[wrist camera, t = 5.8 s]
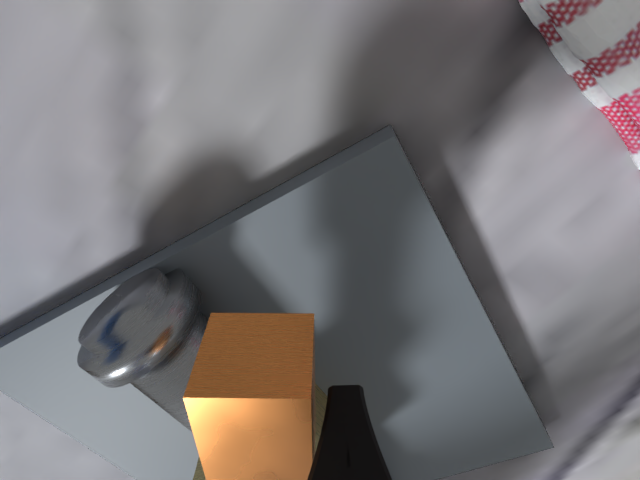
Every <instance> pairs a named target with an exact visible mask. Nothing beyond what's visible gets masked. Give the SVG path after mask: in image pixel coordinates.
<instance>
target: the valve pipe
mask: <svg viewBox="0 0 640 480" xmlns="http://www.w3.org/2000/svg"><path fill="white" fill-rule="evenodd" d="M202 301H203V295H202V292H201V291H200V289H199V288H198V287H197V286H196V285H195V284H194V283H193V282H192V281H191V280H190V279H189V278H188V277H187V276H186V275H185V274H184V273H183V271H182V270H180V269H179V268H176V269H174V270H172V271H171V272H169V273H167V274H165V275H164V274H163V273H162V272H161V271H160V270H159V269H157V268H152V269H148V270H145V271H143V272H141V273H139V274H137V275H135V276H134V277H132V278H130V279H129V280H128V281H126V282H125V283H123V284H122V285H121V286H119V287H118V288H117V289H116V290H115V291H113V292H112V293H111V294H110V295H109V296H108V297H107V298H106V299H105V300H104V301H103V302H102V303H101V304H100V305H99V306H98V307H97V308H96V309H95V310H94V312H93V313H92V314H91V315H90V316H89V318H88V319H87V321H86V322H85V324H84V325H83V327H82V329H81V331H80V333H79V337H78V341H79V343H80V344H81V347H80V350H79V352H78V356H77V363H78V365H79V367H80V368H82V369H83V370H84V371H86V372H87V373H88V374H90V375H91V376H92V377H93V378H95V379H96V380H97V381H99V382H100V383H101V384H103V385H104V386H106V387H108V388H117V387H121V386H124V385H127V384H129V383H130V384H132V385H133V386H134V387H135V388H137V389H138V390H139V391H140V392H142V393H143V394H144V395H145V396H147V397H148V398H149V399H151V400H152V401H153V402H154V403H156V404H157V405H158V406H159V407H161V408H162V409H163V410H164V411H166V412H167V413H168V414H169V415H171V416H172V417H173V418H174V419H176V420H177V421H178V422H179V423H181V424H182V425H183V426H185V427H186V428H187V429H188V430H190V431H191V432H192V428H191V425H190V421H189V418H188V414H187V411H186V407H185V403H184V400H183V396H184V393H185V390H186V387H187V384H188V381H189V378H190V375H191V372H192V369H193V366H194V363H195V360H196V356H197V353H198V350H199V347H200V344H201V341H202V338H203V335H204V332H205V329H206V326H207V323H208V320H209V319H208V318H207V317H206V316H205V315H204V314H203V313H202V312H201V311H200V310H201V306H202ZM315 403H316V429H315V452H316V449H317V445H318V442H319V438H320V434H321V429H322V425H323V421H324V416H325V410H326V404H327V396H326V394H325V393H324V392H323V391H322V390H321V389H320V388H319V387H318V386H317V384H316V383H315ZM192 433H193V432H192ZM193 480H206V478H205V475H204V471H203V467H202V464H201V460H200V457H199V458H198V462H197V466H196V470H195V474H194V477H193Z"/></svg>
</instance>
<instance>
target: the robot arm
mask: <svg viewBox="0 0 640 480" xmlns="http://www.w3.org/2000/svg"><path fill="white" fill-rule="evenodd" d="M307 480H392V478H391V476H390V473H389V470H388V468H387V465H386V463H385V460H384V458H383V455H382V453H381V450H380V447H379V445H378V442H377V439H376V436H375V433H374V430H373V427H372V424H371V420H370V417H369V413H368V409H367V406H366V401H365V396H364V390H363V387H361V386H360V385H332V386H331V387H329V388H328V395H327V404H326V410H325V416H324V421H323V425H322V429H321V434H320V438H319V442H318V445H317V449H316V452H315V456H314V459H313V463H312V466H311V470H310V473H309V476H308V479H307Z"/></svg>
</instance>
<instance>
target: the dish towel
mask: <svg viewBox="0 0 640 480" xmlns="http://www.w3.org/2000/svg"><path fill="white" fill-rule="evenodd" d="M518 1H519V3H520V5H521V8H522V9H523V10H524V11H525V13H526V14H527V16H528V17H529V19H530V20H531V22H532V24H533V25H534V26H535V27H536V28H537V29H539V31H540V32H541V34H542V35H543V37H544V38H545V40H546V43H547V45H548V47H549V49H550V50H551V52H552V54H553V55H554V57H555V58H556V59H557V60H558V62H559V63H560V64H561V65H562V67H563V68H564V70H565V71H566V72H567V74H569V75H570V76H571V77H572V78H573V79H574V80H575V81H576V83H577V84H578V86H579V88H580V90H581V93H582V94H583V95H584V96H585V97H586V98H587V99H588V100H589V101H590V102H591V103H592V104H593V105H594V106H595V107H597V108H598V109H599V110H600V111H601V112H602V113H603V114H604V115H605V117H606V118H607V119H608V121H609V122H610V123H611V124H612V126H613V127H614V129H615V130H616V131H617V133H618V134H619V136H620V137H621V138H622V140H623V141H624V142H625V144H626V145H627V147H628V151H629V154H630V156H631V159H632V161H633V162H634V164H635V165H636V167H637V169H638V170H639V171H640V0H518Z"/></svg>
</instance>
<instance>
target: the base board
mask: <svg viewBox="0 0 640 480" xmlns="http://www.w3.org/2000/svg"><path fill="white" fill-rule="evenodd" d="M152 268H157V269H159V270H160V271H161V272H162V273H163V274H164V275H165V274H167V273H169V272H171V271H172V270H174V269H176V268H179V269H180V270H182V271H183V273H184V274H185V275H186V276H187V277H188V278H189V279H190V280H191V281H192V282H193V283H194V284H195V285H196V286H197V287H198V288H199V289H200V291H201V292H202V295H203V301H202V306H201V310H200V311H201V312H202V313H203V314H204V315H205V316H206V317H207V318H208V319H209V317H210V314H211V313H314V332H315V383H316V384H317V386H318V387H319V388H320V389H321V390H322V391H323V392H324V393H325V394H326V396H327V395H328V388H329V387H331V386H332V385H360V386H361V387H363V390H364V396H365V401H366V406H367V409H368V413H369V417H370V420H371V424H372V427H373V430H374V433H375V436H376V439H377V442H378V445H379V447H380V450H381V453H382V455H383V458H384V460H385V463H386V465H387V468H388V470H389V473H390V476H391V478H392V480H437V479H441V478H445V477H448V476H452V475H456V474H459V473H463V472H467V471H470V470H474V469H477V468H481V467H485V466H488V465H492V464H496V463H499V462H503V461H507V460H510V459H514V458H518V457H521V456H525V455H528V454H532V453H536V452H539V451H543V450H547V449H550V448H554V446H553V444H552V442H551V440H550V438H549V435H548V433H547V431H546V429H545V427H544V425H543V423H542V421H541V419H540V417H539V415H538V413H537V411H536V409H535V407H534V405H533V403H532V401H531V400H530V398H529V396H528V394H527V392H526V390H525V388H524V386H523V384H522V382H521V380H520V378H519V376H518V374H517V372H516V370H515V368H514V366H513V364H512V362H511V360H510V358H509V356H508V354H507V352H506V350H505V348H504V346H503V344H502V342H501V341H500V339H499V337H498V335H497V333H496V331H495V329H494V327H493V325H492V323H491V321H490V319H489V317H488V315H487V313H486V311H485V309H484V307H483V305H482V303H481V301H480V299H479V297H478V295H477V293H476V291H475V289H474V287H473V285H472V283H471V282H470V280H469V278H468V276H467V274H466V272H465V270H464V268H463V266H462V264H461V262H460V260H459V258H458V256H457V254H456V252H455V250H454V248H453V246H452V244H451V242H450V240H449V238H448V236H447V234H446V232H445V230H444V228H443V226H442V224H441V223H440V221H439V219H438V217H437V215H436V213H435V211H434V209H433V207H432V205H431V203H430V201H429V199H428V197H427V195H426V193H425V191H424V189H423V187H422V185H421V183H420V181H419V179H418V177H417V175H416V173H415V171H414V169H413V167H412V165H411V163H410V162H409V160H408V158H407V156H406V154H405V152H404V150H403V148H402V146H401V144H400V142H399V140H398V138H397V136H396V134H395V132H394V130H393V128H392V126H391V125H389V126H387V127H385V128H383V129H382V130H380V131H378V132H376V133H374V134H372V135H371V136H369V137H367V138H365V139H363V140H361V141H360V142H358V143H356V144H354V145H352V146H351V147H349V148H347V149H345V150H343V151H341V152H340V153H338V154H336V155H334V156H332V157H330V158H329V159H327V160H325V161H323V162H321V163H320V164H318V165H316V166H314V167H312V168H310V169H309V170H307V171H305V172H303V173H301V174H299V175H298V176H296V177H294V178H292V179H290V180H288V181H287V182H285V183H283V184H281V185H279V186H278V187H276V188H274V189H272V190H270V191H268V192H267V193H265V194H263V195H261V196H259V197H257V198H256V199H254V200H252V201H250V202H248V203H247V204H245V205H243V206H241V207H239V208H237V209H236V210H234V211H232V212H230V213H228V214H226V215H225V216H223V217H221V218H219V219H217V220H215V221H214V222H212V223H210V224H208V225H206V226H205V227H203V228H201V229H199V230H197V231H195V232H194V233H192V234H190V235H188V236H186V237H184V238H183V239H181V240H179V241H177V242H175V243H174V244H172V245H170V246H168V247H166V248H164V249H163V250H161V251H159V252H157V253H155V254H153V255H152V256H150V257H148V258H146V259H144V260H143V261H141V262H139V263H137V264H135V265H133V266H132V267H130V268H128V269H126V270H124V271H122V272H121V273H119V274H117V275H115V276H113V277H111V278H110V279H108V280H106V281H104V282H102V283H101V284H99V285H97V286H95V287H93V288H91V289H90V290H88V291H86V292H84V293H82V294H80V295H79V296H77V297H75V298H73V299H71V300H70V301H68V302H66V303H64V304H62V305H60V306H59V307H57V308H55V309H53V310H51V311H49V312H48V313H46V314H44V315H42V316H40V317H38V318H37V319H35V320H33V321H31V322H29V323H28V324H26V325H24V326H22V327H20V328H18V329H17V330H15V331H13V332H11V333H9V334H7V335H6V336H4V337H2V338H0V391H1V392H2V393H4V394H5V395H7V396H8V397H10V398H12V399H13V400H15V401H16V402H18V403H19V404H21V405H22V406H24V407H25V408H27V409H28V410H30V411H31V412H33V413H35V414H36V415H38V416H39V417H41V418H42V419H44V420H45V421H47V422H48V423H50V424H51V425H53V426H54V427H56V428H57V429H59V430H61V431H62V432H64V433H65V434H67V435H68V436H70V437H71V438H73V439H74V440H76V441H77V442H79V443H80V444H82V445H84V446H85V447H87V448H88V449H90V450H91V451H93V452H94V453H96V454H97V455H99V456H100V457H102V458H103V459H105V460H106V461H108V462H110V463H111V464H113V465H114V466H116V467H117V468H119V469H120V470H122V471H123V472H125V473H126V474H128V475H129V476H131V477H133V478H134V479H136V480H193V477H194V474H195V470H196V466H197V462H198V458H199V453H198V450H197V446H196V443H195V439H194V435H193V433H192V432H191V431H190V430H188V429H187V428H186V427H185V426H183V425H182V424H181V423H179V422H178V421H177V420H176V419H174V418H173V417H172V416H171V415H169V414H168V413H167V412H166V411H164V410H163V409H162V408H161V407H159V406H158V405H157V404H156V403H154V402H153V401H152V400H151V399H149V398H148V397H147V396H145V395H144V394H143V393H142V392H140V391H139V390H138V389H137V388H135V387H134V386H133V385H132V384H130V383H129V384H127V385H124V386H121V387H117V388H108V387H106V386H104V385H103V384H101V383H100V382H99V381H97V380H96V379H95V378H93V377H92V376H91V375H90V374H88V373H87V372H86V371H84V370H83V369H82V368H80V367H79V365H78V363H77V356H78V352H79V350H80V347H81V344H80V343H79V341H78V337H79V333H80V331H81V329H82V327H83V325H84V324H85V322H86V321H87V319H88V318H89V316H90V315H91V314H92V313H93V312H94V310H95V309H96V308H97V307H98V306H99V305H100V304H101V303H102V302H103V301H104V300H105V299H106V298H107V297H108V296H109V295H110V294H111V293H112V292H113V291H115V290H116V289H117V288H118V287H119V286H121V285H122V284H123V283H125V282H126V281H128V280H129V279H130V278H132V277H134V276H135V275H137V274H139V273H141V272H143V271H145V270H148V269H152Z"/></svg>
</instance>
